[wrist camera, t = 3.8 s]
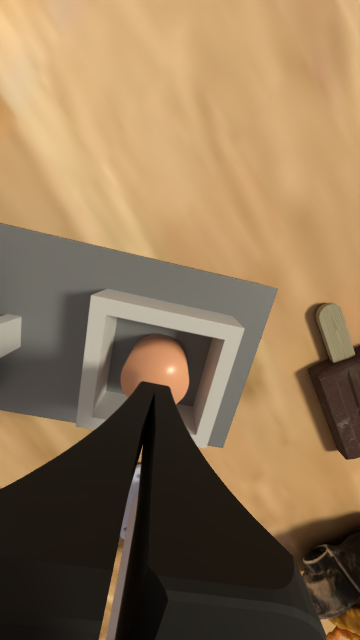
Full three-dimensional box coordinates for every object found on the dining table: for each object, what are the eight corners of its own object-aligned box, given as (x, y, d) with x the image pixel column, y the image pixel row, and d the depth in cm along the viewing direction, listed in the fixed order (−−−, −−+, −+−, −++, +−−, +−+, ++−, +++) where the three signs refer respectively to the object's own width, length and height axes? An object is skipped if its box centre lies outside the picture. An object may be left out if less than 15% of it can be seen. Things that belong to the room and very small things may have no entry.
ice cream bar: (286, 317, 17) (337, 452, 20) (297, 323, 15) (350, 469, 19) (352, 287, 16) (392, 431, 20) (371, 290, 14) (410, 446, 18)
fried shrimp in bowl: (488, 597, 18) (397, 823, 16) (343, 485, 28) (272, 621, 26) (509, 624, 13) (381, 955, 11) (323, 477, 23) (233, 644, 21)
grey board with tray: (215, 419, 19) (231, 481, 13) (-78, 365, 17) (-196, 414, 11) (258, 283, 15) (302, 295, 10) (-94, 201, 14) (-266, 162, 8)
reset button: (180, 390, 14) (180, 415, 12) (126, 379, 14) (115, 403, 11) (192, 340, 13) (196, 357, 11) (135, 328, 13) (126, 343, 11)
